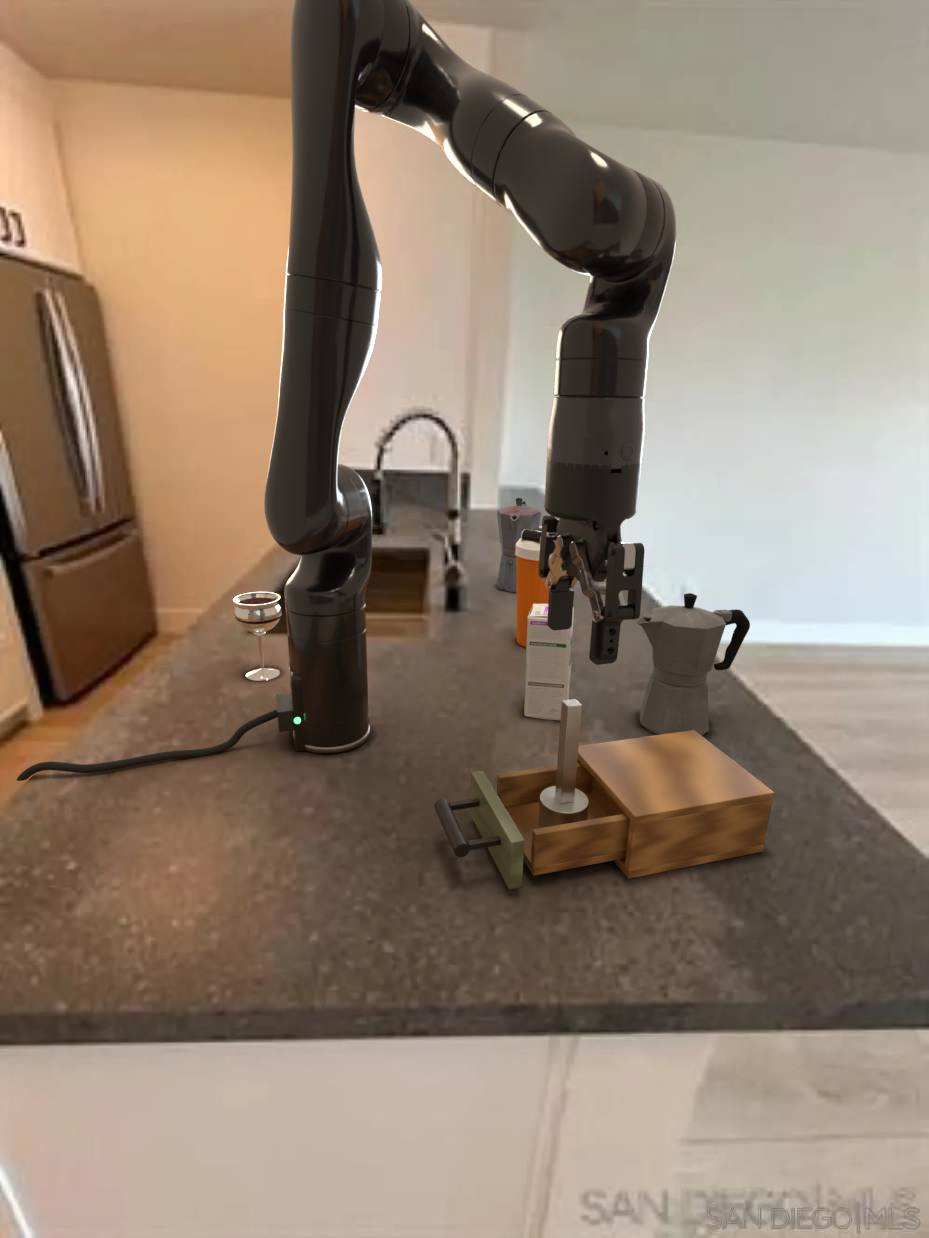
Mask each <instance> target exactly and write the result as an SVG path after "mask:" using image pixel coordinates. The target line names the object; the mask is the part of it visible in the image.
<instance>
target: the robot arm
mask: <svg viewBox="0 0 929 1238" xmlns="http://www.w3.org/2000/svg"><path fill="white" fill-rule="evenodd" d="M289 43H290V44H289V46H290V50H289V58H290V60H289V61H290V100H291V101H290V107H291V143H292V145H291V146H292V147H291V149H292V156H291V157H292V160H291V162H292V163H291V192H290V193H291V194H290V216H289V217H290V219H289V235H288V236H289V237H288V247H287V248H288V249H287V257H286V268H285V274H286V275H285V281H284V282H285V283H284V297H283V317H282V318H283V319H282V321H283V323H282V325H283V328H282V348H281V361H280V362H281V363H280V371H279V372H280V373H279V386H278V387H279V388H278V400H277V401H278V402H277V403H278V404H277V413H276V421H275V426H274V427H275V428H274V434H273V441H272V447H271V453H270V459H269V464H268V469H267V470H268V471H267V475H266V482H265V488H264V489H265V490H264V502H263V503H264V504H263V505H264V516H265V520H266V525H267V527H268V531H269V532H270V535H271V537H272V539H273V540H274V541H275V542H276V543H277V545H278V546H279V547H280V548H281V549H283V550H284V551H285V552H288V553H289V554H291V555H296V556H300V559H299V562H298V564H297V566H296V568H295V570H294V571H293V573H292V574H291V575H290V577H289V578H288V579H287V581H286V582H285V585H284V591H283V592H284V593H283V594H284V606H285V620H286V621H285V622H286V635H287V647H288V648H287V649H288V650H287V651H288V677H289V689H290V690H289V691H290V692H287V693H277V694H275V699H276V709H274V710H271V711H269V712H266V713H264V714H262V715H260V716H257V717H255V718H253V719H251V720H249V721H247V722H246V723H244V724H243V725H241V726H240V727H239V728H237V730H236V731H235V732H234V733H233V735H232V736H231V737H230V738H229V739H228V740H226V741H224V742H222V743H220V744H217V745H214V746H210V747H204V748H198V749H197V748H195V749H177V750H168V751H161V752H156V753H149V754H145V755H140V756H134V757H129V758H123V759H118V760H112V761H106V762H98V763H97V762H96V763H89V764H88V763H87V764H86V763H85V764H84V763H70V762H63V761H42V762H37V763H35V764H33V765H30V766H29V767H27V768H26V769H24V770H23V771H22V772H21V773H20V774H19V775H18V776H17V778H16V781H18V782H22V781H27V780H28V779H29V778H31V777H32V776H34V774H37V773H40V772H44V771H56V772H57V771H58V772H66V773H68V772H69V773H77V774H89V773H90V774H92V773H98V772H107V771H114V770H118V769H124V768H130V767H134V766H135V767H136V766H140V765H145V764H150V763H156V762H161V761H167V760H176V759H189V758H191V759H192V758H199V757H206V756H213V755H216V754H220V753H223V752H225V751H228V750H230V749H231V748H233V747H234V746H235V745H236V744H237V743H238V742H239V741H240V740H241V738H242V737H243V736H244V735H245V734H246V733H248V732H249V731H251V730H252V729H254V728H256V727H258V726H261V725H263V724H264V723H267V722H270V721H272V720H274V719H277V726H278V733H285V732H292V736H293V737H292V739H293V742H294V748H295V751H296V752H302V751H307V752H311V753H316V754H335V753H336V754H337V753H343V752H347V751H349V750H352V749H355V748H357V747H360V746H361V745H362V744H364V743H365V742H366V741H367V740H368V739H369V737H370V734H371V725H370V714H369V681H368V680H369V678H368V677H369V675H368V645H367V643H368V642H367V607H366V606H367V605H366V591H367V587H368V585H369V582H370V579H371V575H372V564H373V561H372V560H373V509H372V502H371V501H372V500H371V496H370V492H369V490H368V487H367V485H366V484H365V483H366V482H365V481H364V479H363V478H362V477H361V475H360V474H359V473H358V472H356V471H355V470H354V469H353V468H352V467H350V466H347V465H346V464H342V463H339V453H340V443H341V436H342V430H343V426H344V423H345V420H346V416H347V414H348V411H349V408H350V406H351V403H352V401H353V399H354V397H355V395H356V392H357V390H358V389H359V386H360V384H361V382H362V380H363V377H364V376H365V373H366V370H367V368H368V365H369V363H370V360H371V357H372V354H373V351H374V348H375V345H376V340H377V334H378V327H379V320H380V319H379V317H380V309H381V300H382V299H381V298H382V290H383V267H382V259H381V255H380V250H379V247H378V242H377V239H376V236H375V232H374V228H373V226H372V223H371V219H370V215H369V212H368V209H367V206H366V202H365V200H364V196H363V192H362V189H361V185H360V182H359V177H358V171H357V166H356V164H357V163H356V155H355V122H356V121H355V120H356V108H357V109H358V110H360V111H362V112H365V113H367V114H372V115H376V116H380V117H383V118H386V119H388V120H391V121H394V122H396V123H399V124H400V125H404V126H406V127H409V128H411V129H413V130H415V131H417V132H419V133H421V134H422V135H424V136H426V137H427V138H428V139H430V140H431V141H433V142H434V143H435V144H436V145H437V146H438V147H439V148H440V149H441V151H442V152H443V153H444V156H446V158H447V160H448V161H449V162H450V163H451V164H452V166H453V167H454V168H455V169H456V171H457V172H459V174H460V175H461V176H462V177H464V179H466V180H467V181H468V182H469V183H470V184H471V185H473V186H474V187H475V188H476V189H477V190H479V192H481V193H482V194H484V195H485V196H486V197H488V198H489V199H490V200H491V201H493V202H494V203H495V204H497V206H499V207H500V208H502V209H503V210H504V211H506V212H507V213H509V214H510V215H512V216H513V217H514V218H516V220H517V222H518V224H519V225H520V226H521V227H522V228H523V229H524V231H525V232H526V233H527V235H528V236H529V237H530V238H531V239H532V240H533V241H534V243H536V244H537V246H538V247H539V248H540V249H541V250H542V251H543V252H545V254H547V255H548V256H549V257H551V258H552V260H554V261H556V262H557V263H558V264H560V265H561V266H563V267H565V268H567V269H569V270H571V271H573V272H575V273H578V274H582V275H586V276H589V282H588V286H587V292H586V296H585V300H584V304H583V308H582V311H581V313H579V314H576V315H572V316H571V317H569V318H567V319H566V320H565V321H564V322H562V324H561V326H560V328H559V331H558V333H557V338H556V345H555V346H556V347H555V361H554V363H555V364H554V380H553V381H554V382H553V398H552V406H551V412H550V417H549V422H548V432H547V451H546V465H545V466H546V467H545V468H546V470H545V485H544V486H545V487H544V503H543V506H544V507H543V508H544V511H545V512H546V513H547V514H546V515H543V516H542V519H541V526H542V529H541V542H540V555H539V568H538V573H539V576H540V578H546V588H547V589H548V590H550V591H549V603H548V620H547V625H548V627H549V628H550V629H552V630H566V629H569V628H570V627H571V625H572V615H573V607H574V600H575V599H574V598H575V590H573V588H574V587H575V585H576V584H577V582H579V586H580V590H581V593H582V595H583V596H585V597H587V598H588V599H589V604H590V607H591V608H590V609H591V613H592V617H593V619H592V620H591V629H590V643H589V654H588V658H589V661H590V662H592V663H593V664H594V665H597V666H600V665H609V664H613V663H615V662H617V660H618V655H619V645H620V635H621V634H620V633H621V626H622V622H623V621H629V620H630V621H631V620H638V619H639V618H641V617H640V616H641V610H642V609H641V608H642V596H643V595H642V594H643V593H642V592H643V579H644V566H645V565H644V564H645V546H644V544H643V543H642V542H624V541H623V537H622V528H621V526H622V523H623V522H624V521H625V520H629V519H632V518H633V517H634V516H635V515H636V513H637V510H638V501H639V491H640V483H641V482H640V481H641V473H642V472H641V471H642V460H643V459H642V458H643V450H644V441H645V426H646V424H645V423H646V422H645V398H644V397H645V396H646V386H647V385H646V384H647V376H648V375H647V374H648V365H649V350H650V349H649V347H650V345H649V344H650V338H651V335H652V331H653V328H654V326H655V323H656V320H657V318H658V315H659V311H660V309H661V305H662V301H663V298H664V295H665V292H666V289H667V284H668V280H669V277H670V274H671V269H672V267H673V261H674V258H675V252H676V245H677V218H676V212H675V211H676V210H675V207H674V204H673V203H674V202H673V201H672V198H671V196H670V194H669V192H668V191H667V189H665V188H664V187H663V185H662V184H660V183H659V182H658V181H656V180H654V179H653V178H651V177H649V176H646V175H645V174H643V173H641V172H639V171H637V170H635V169H633V168H632V167H629V166H628V165H625V164H624V163H621V162H619V161H618V160H616V159H614V158H613V157H611V156H609V155H608V154H606V153H604V152H602V151H600V150H599V149H597V148H595V147H594V146H592V145H590V144H589V143H587V142H586V141H584V140H582V139H580V138H579V137H577V136H576V134H575V132H574V131H573V130H572V129H571V128H570V126H568V124H566V123H565V122H564V121H563V120H562V119H560V118H559V117H558V116H557V115H555V114H554V113H552V112H551V111H549V110H548V109H546V108H545V107H544V106H543V105H541V104H539V103H538V102H537V101H535V100H533V99H532V98H531V97H529V96H528V95H526V94H524V93H523V92H522V91H520V90H519V89H516V88H515V87H513V86H512V85H510V84H508V83H507V82H504V81H503V80H501V79H499V78H497V77H494V76H493V75H490V74H488V73H485V72H483V71H481V70H479V69H477V68H475V67H473V66H472V65H471V64H470V63H468V62H467V61H466V60H464V59H463V58H462V57H461V56H460V55H459V54H458V53H456V52H455V51H454V50H453V49H452V48H451V47H450V46H449V45H448V44H447V43H446V42H445V40H444V39H443V38H442V37H441V36H440V34H438V32H437V31H436V29H434V28H433V26H432V25H431V24H430V23H429V22H428V20H427V19H426V18H425V17H424V16H423V14H422V13H420V12H419V10H418V9H417V8H416V7H415V5H414V4H413V3H412V2H411V0H294V1H293V6H292V14H291V25H290V42H289ZM552 553H553V554H552ZM550 554H552V556H551V558H550V561H549V556H550ZM623 591H627V603H626V600H625V599H626V598H625V595H624V592H623ZM602 596H604V602H603V597H602Z"/></svg>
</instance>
